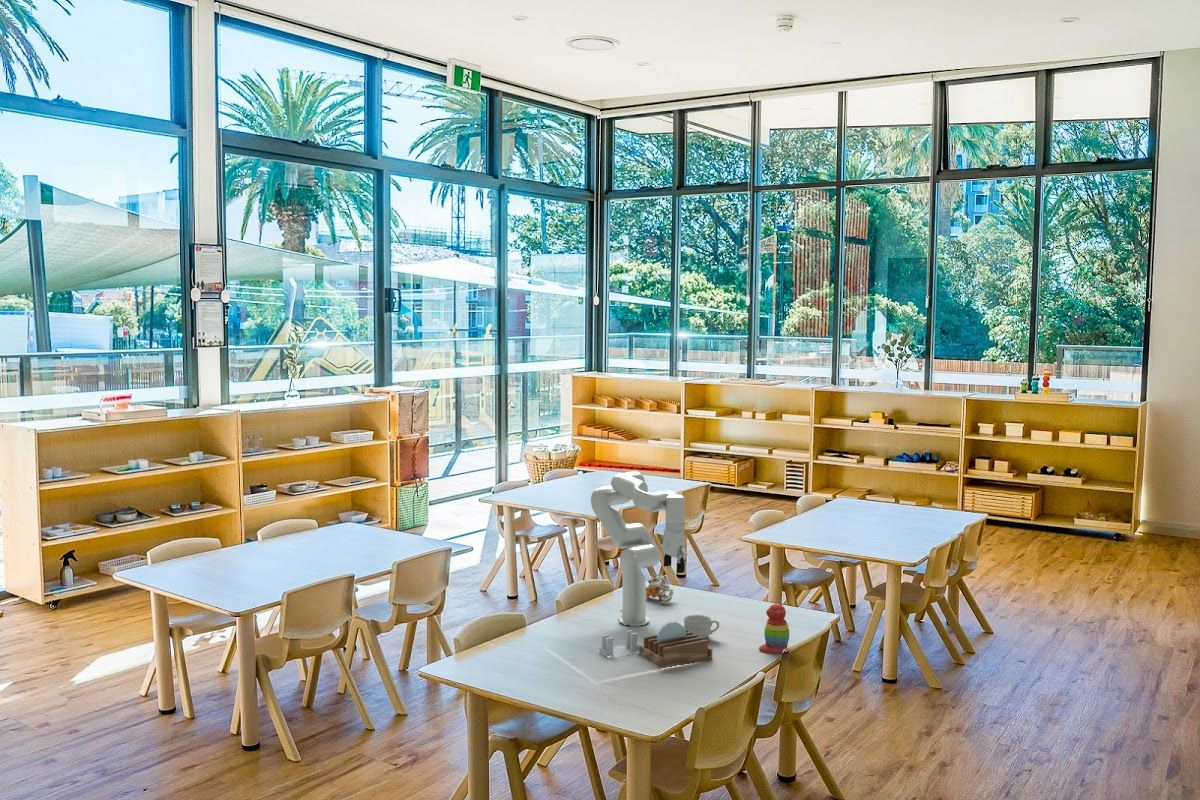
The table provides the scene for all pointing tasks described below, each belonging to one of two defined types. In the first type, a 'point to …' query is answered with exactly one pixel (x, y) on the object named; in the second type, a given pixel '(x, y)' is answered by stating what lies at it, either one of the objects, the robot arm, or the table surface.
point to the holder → (623, 650)
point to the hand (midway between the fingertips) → (673, 569)
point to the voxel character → (658, 588)
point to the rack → (676, 650)
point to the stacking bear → (775, 630)
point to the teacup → (700, 625)
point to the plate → (671, 631)
